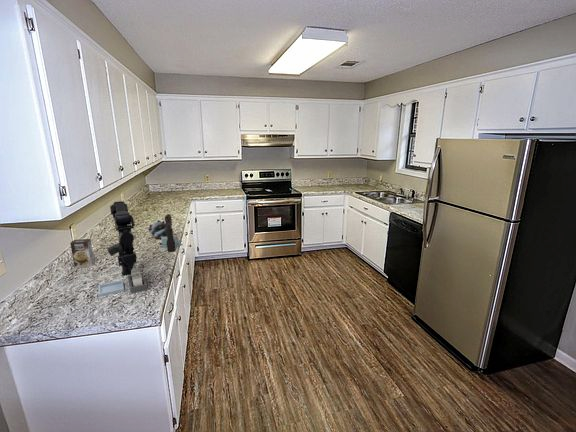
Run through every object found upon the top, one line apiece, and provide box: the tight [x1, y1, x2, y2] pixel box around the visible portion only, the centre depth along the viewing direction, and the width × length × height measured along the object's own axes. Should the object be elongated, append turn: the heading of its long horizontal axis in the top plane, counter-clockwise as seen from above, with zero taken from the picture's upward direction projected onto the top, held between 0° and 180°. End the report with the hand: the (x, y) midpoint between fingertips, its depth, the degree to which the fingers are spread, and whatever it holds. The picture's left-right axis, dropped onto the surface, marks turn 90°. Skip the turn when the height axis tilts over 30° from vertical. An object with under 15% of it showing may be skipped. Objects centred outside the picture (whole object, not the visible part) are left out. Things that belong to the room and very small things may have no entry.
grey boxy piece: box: [127, 266, 148, 294], centre depth 160 cm, size 16×8×8 cm, turn 31°
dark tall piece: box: [158, 213, 184, 253], centre depth 217 cm, size 16×21×33 cm
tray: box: [97, 279, 125, 298], centre depth 156 cm, size 11×11×2 cm
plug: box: [132, 272, 143, 287], centre depth 156 cm, size 4×4×7 cm
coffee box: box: [69, 238, 95, 269], centre depth 184 cm, size 9×6×16 cm
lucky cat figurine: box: [147, 220, 166, 240], centre depth 239 cm, size 15×12×14 cm
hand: (129, 267), depth 156 cm, fingers open, 9 cm apart
